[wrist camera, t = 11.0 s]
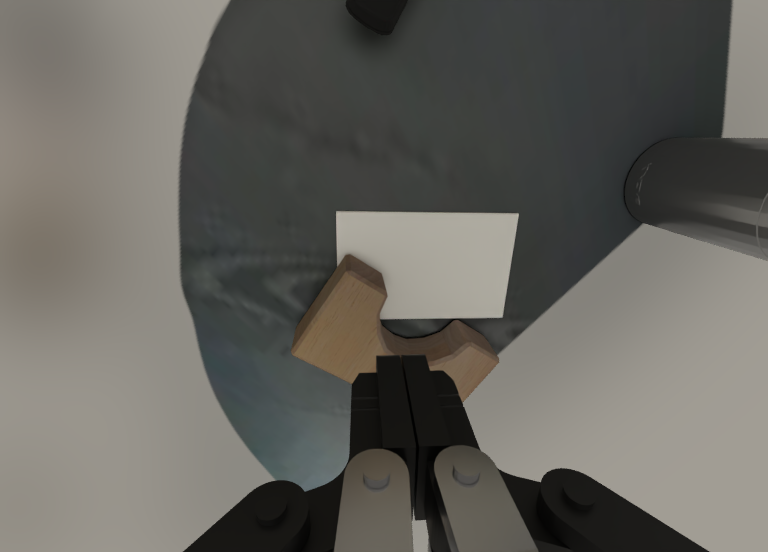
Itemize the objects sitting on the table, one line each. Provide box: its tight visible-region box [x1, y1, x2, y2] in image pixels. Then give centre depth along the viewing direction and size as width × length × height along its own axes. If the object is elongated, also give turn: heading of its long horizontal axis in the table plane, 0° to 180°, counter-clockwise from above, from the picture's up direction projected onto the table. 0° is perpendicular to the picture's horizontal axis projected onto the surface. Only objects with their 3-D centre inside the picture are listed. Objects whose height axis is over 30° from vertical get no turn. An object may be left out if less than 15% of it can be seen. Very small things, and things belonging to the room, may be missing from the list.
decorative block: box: [291, 254, 499, 403], centre depth 41 cm, size 11×6×20 cm
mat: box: [336, 211, 519, 319], centre depth 41 cm, size 20×12×1 cm, turn 89°
